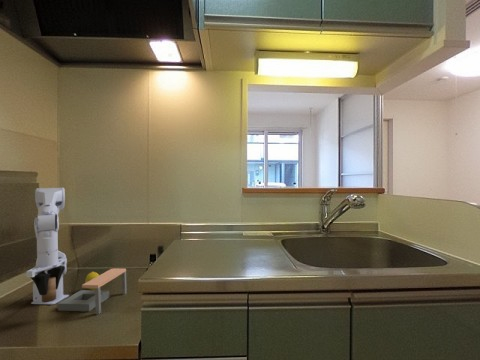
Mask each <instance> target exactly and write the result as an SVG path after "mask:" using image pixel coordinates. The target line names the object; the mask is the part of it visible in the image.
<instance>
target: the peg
mask: <svg viewBox="0 0 480 360" xmlns="http://www.w3.org/2000/svg"><path fill="white" fill-rule="evenodd" d="M55 299H56V277H49V280H48V291H47V294H46V295H42V302H50V301H53V300H55Z"/></svg>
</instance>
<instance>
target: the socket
mask: <svg viewBox="0 0 480 360" xmlns="http://www.w3.org/2000/svg"><path fill="white" fill-rule="evenodd" d="M108 298H110V290H101V304H102V303H103V302H104V301H107V300H108ZM93 309H96V305H95V290H90V289H87V290H85V289H84V290H83V289H80V290H79V291H77V292H75V293H74V294H72V295H71V296H70V295H69V296H68V297H66V298H65V299H63V300H61V301H59V302H57V311H58V312H59V311H61V312H62V311H64V312H90V311H92V310H93Z"/></svg>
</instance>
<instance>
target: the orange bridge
mask: <svg viewBox="0 0 480 360" xmlns="http://www.w3.org/2000/svg"><path fill="white" fill-rule="evenodd" d="M119 276H121V293H122V294H121V295H127V293H128V292H127V290H128V289H127V269H126V268H119V267H118V268H115V267H114V268H110V269H108V270H107V271H105V272H104V273H101V274H99V276H97V277H96V278H94V279H92V280H90V281H88V282H86V283H85V282H84V283H83V284H81V288H82V289H88V288H95V305H96V307H95V315H101V314H102V303H101V291H102V290H101V288H102V287H103V286H104V285H106V284H107V283H109V282H111V281H113V280H114V279H116V278H118V277H119ZM100 313H101V314H100Z"/></svg>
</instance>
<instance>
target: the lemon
mask: <svg viewBox="0 0 480 360" xmlns="http://www.w3.org/2000/svg"><path fill="white" fill-rule="evenodd" d="M99 275H100V274H99V273H97V272H96V271H91V272H89V273H88V274H87V275H86V276H85V279H84V281H85V282H84V284H85V283H86V282H88V281H90V280H92V279H94V278H96V277H97V276H99ZM87 290H95V288H87Z"/></svg>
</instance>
